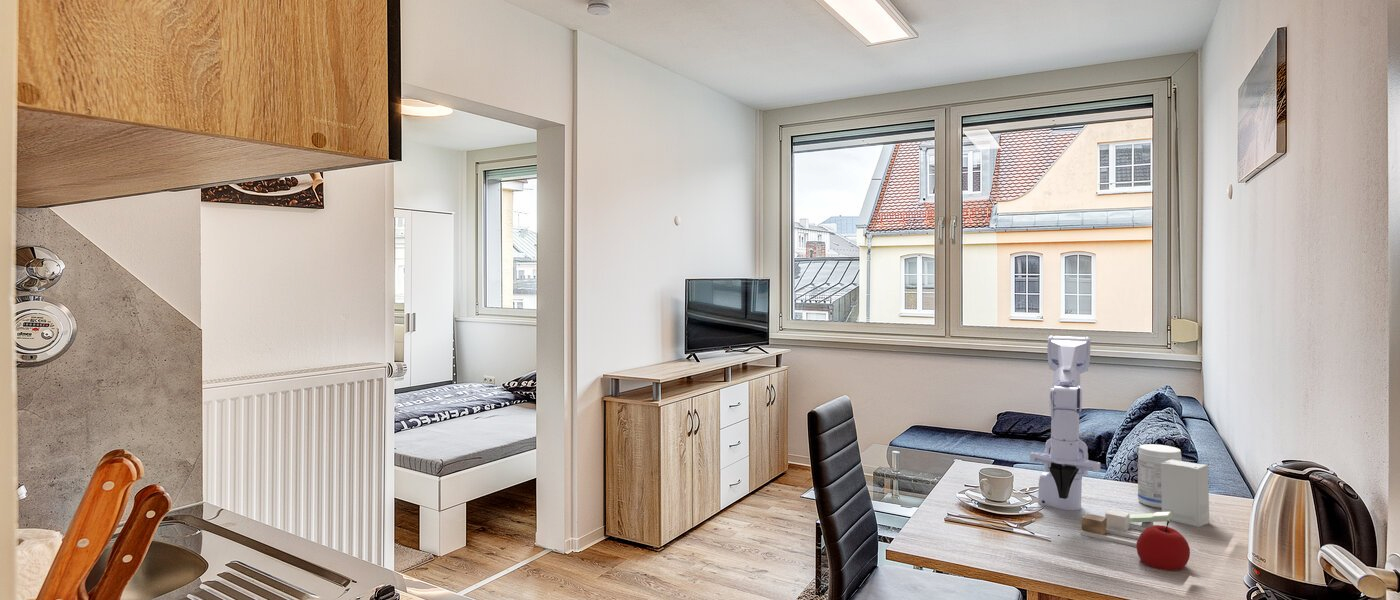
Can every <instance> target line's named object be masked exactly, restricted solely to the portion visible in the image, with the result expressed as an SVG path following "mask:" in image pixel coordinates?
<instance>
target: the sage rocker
mask: <svg viewBox="0 0 1400 600" xmlns="http://www.w3.org/2000/svg"><path fill="white" fill-rule="evenodd" d="M1171 518H1172V514H1171V512H1162V511H1155V512H1153V513H1130V518H1129V524H1133V523H1142V522H1153V523H1157V522H1158V523H1159V522H1160V523H1161V522H1164V523H1165V522H1166V523H1167V520H1168V521H1169V522H1171V520H1170V519H1171Z"/></svg>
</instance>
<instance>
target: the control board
mask: <svg viewBox="0 0 1400 600" xmlns="http://www.w3.org/2000/svg"><path fill="white" fill-rule="evenodd" d="M1153 525H1154V522H1141V525H1137V524H1133V523H1129V529H1131V530H1136V531H1131V530H1123V529H1118V528H1113V527H1108V526H1107V527H1106V534H1111V535H1115V536H1119V537H1125V538H1130V539H1133V540H1138V538H1139V536H1140V535H1141V533H1142V532H1143V531H1144V530H1145V529H1146V528H1148V527H1150V526H1153ZM1137 531H1141V532H1137ZM1079 533H1080V534H1079V535H1081V536H1086V537H1091V538H1094V539H1099V540H1103V541H1108V542H1112V543H1117V544H1123V545H1127V546H1132V547H1136V545H1137V541H1132V540H1128V539H1124V538H1123V539H1122V538H1119V537H1115V536H1109V535H1106V534H1105V535H1101V534H1096V533H1092V532H1087V531H1083V530H1082V529H1081V530H1080V531H1079Z"/></svg>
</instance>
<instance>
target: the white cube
mask: <svg viewBox="0 0 1400 600" xmlns="http://www.w3.org/2000/svg"><path fill="white" fill-rule="evenodd" d="M1104 514H1105V516H1104V517H1107V526H1108V527H1113V528H1118V529H1123V530H1127V531H1129V530H1130V528H1129V524H1130V523H1129V518H1130V514H1131V513H1130V512H1126V511H1125V512H1124V511H1121V510H1115V509H1108V510H1107V511H1106V512H1105V513H1104Z"/></svg>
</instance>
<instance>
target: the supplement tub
mask: <svg viewBox="0 0 1400 600" xmlns="http://www.w3.org/2000/svg"><path fill="white" fill-rule="evenodd" d="M1137 455H1138V457H1137V500H1138V502H1140V503H1141V504H1143V505H1145V506H1148V507H1152V508H1157V509H1162V495H1161V463H1162V462H1165V461H1168V460H1171V459H1173V460H1178V461H1182V451H1181V449H1180V448H1178V447H1174V446H1171V445H1164V444H1158V443H1157V444H1156V443H1155V444H1152V443H1149V444H1148V443H1146V444H1141V445H1139V446H1138V454H1137Z"/></svg>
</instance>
